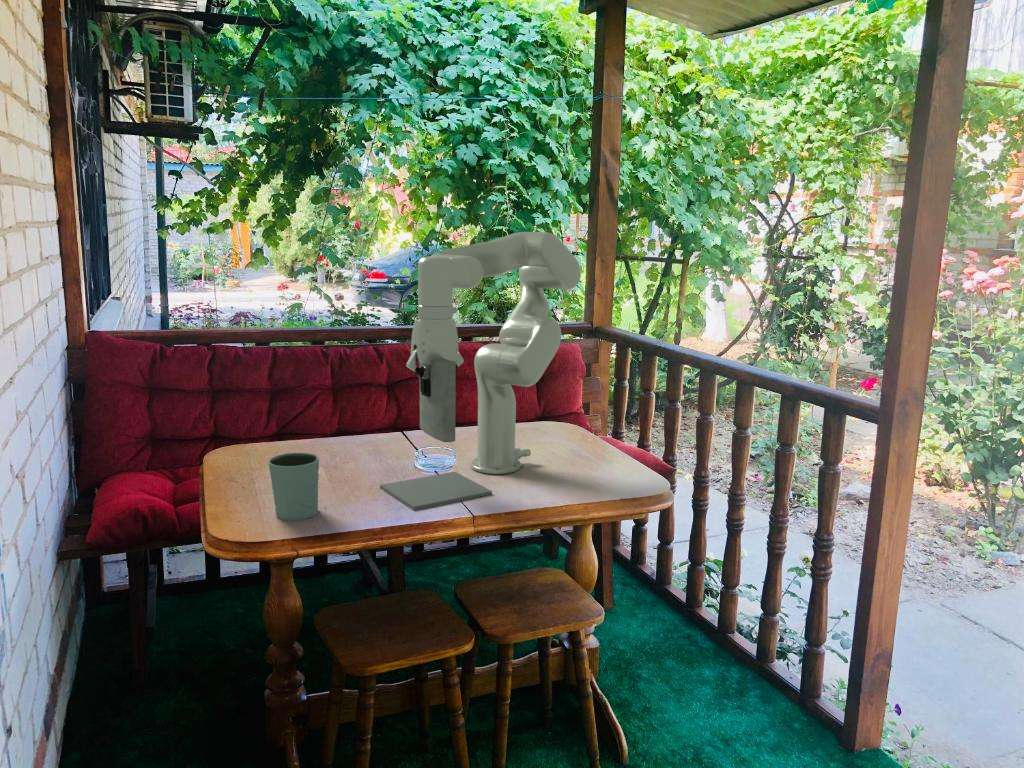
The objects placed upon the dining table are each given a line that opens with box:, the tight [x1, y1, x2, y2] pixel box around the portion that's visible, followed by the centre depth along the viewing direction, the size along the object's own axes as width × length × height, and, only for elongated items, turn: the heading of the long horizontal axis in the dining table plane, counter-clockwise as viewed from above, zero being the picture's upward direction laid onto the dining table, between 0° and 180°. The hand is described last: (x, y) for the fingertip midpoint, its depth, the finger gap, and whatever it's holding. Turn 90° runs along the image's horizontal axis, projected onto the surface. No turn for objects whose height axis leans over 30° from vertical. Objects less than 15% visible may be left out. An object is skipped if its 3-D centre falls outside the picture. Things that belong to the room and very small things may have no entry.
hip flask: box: [418, 359, 457, 443], centre depth 177 cm, size 16×4×20 cm, turn 28°
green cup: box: [267, 452, 320, 522], centre depth 165 cm, size 10×10×12 cm
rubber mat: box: [379, 471, 493, 511], centre depth 181 cm, size 20×17×1 cm
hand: (435, 393), depth 177 cm, fingers closed on hip flask, 4 cm apart
